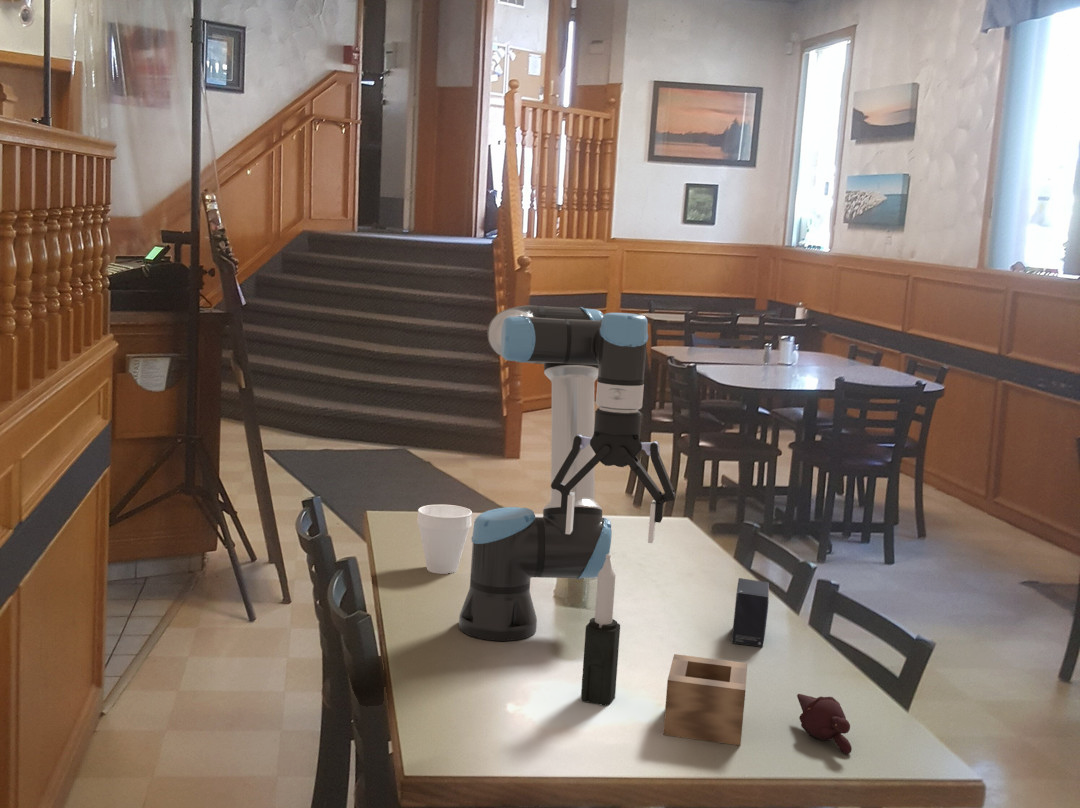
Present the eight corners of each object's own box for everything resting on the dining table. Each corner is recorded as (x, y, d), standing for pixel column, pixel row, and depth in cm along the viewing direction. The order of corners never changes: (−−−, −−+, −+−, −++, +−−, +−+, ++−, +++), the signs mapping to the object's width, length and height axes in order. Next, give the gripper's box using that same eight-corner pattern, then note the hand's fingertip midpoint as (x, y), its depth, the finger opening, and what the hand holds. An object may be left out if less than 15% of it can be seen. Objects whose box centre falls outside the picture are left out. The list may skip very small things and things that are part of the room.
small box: (764, 648, 227) (769, 596, 225) (730, 644, 228) (735, 592, 227) (765, 631, 237) (770, 580, 236) (732, 627, 238) (737, 577, 237)
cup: (479, 569, 268) (483, 510, 266) (447, 580, 257) (450, 520, 255) (437, 558, 274) (439, 501, 272) (403, 569, 264) (406, 510, 262)
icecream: (776, 683, 192) (825, 728, 178) (816, 669, 194) (867, 714, 180) (780, 719, 194) (829, 767, 180) (819, 706, 196) (870, 752, 182)
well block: (663, 734, 184) (667, 680, 183) (669, 705, 196) (674, 654, 195) (740, 745, 182) (745, 690, 181) (742, 715, 194) (747, 663, 192)
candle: (616, 695, 199) (627, 552, 195) (608, 706, 194) (619, 559, 190) (587, 690, 200) (597, 548, 197) (579, 701, 196) (588, 555, 192)
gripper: (538, 405, 189) (530, 533, 192) (694, 419, 184) (684, 550, 187) (547, 399, 196) (539, 523, 199) (697, 412, 191) (687, 539, 194)
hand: (609, 536), depth 193 cm, fingers open, 13 cm apart
